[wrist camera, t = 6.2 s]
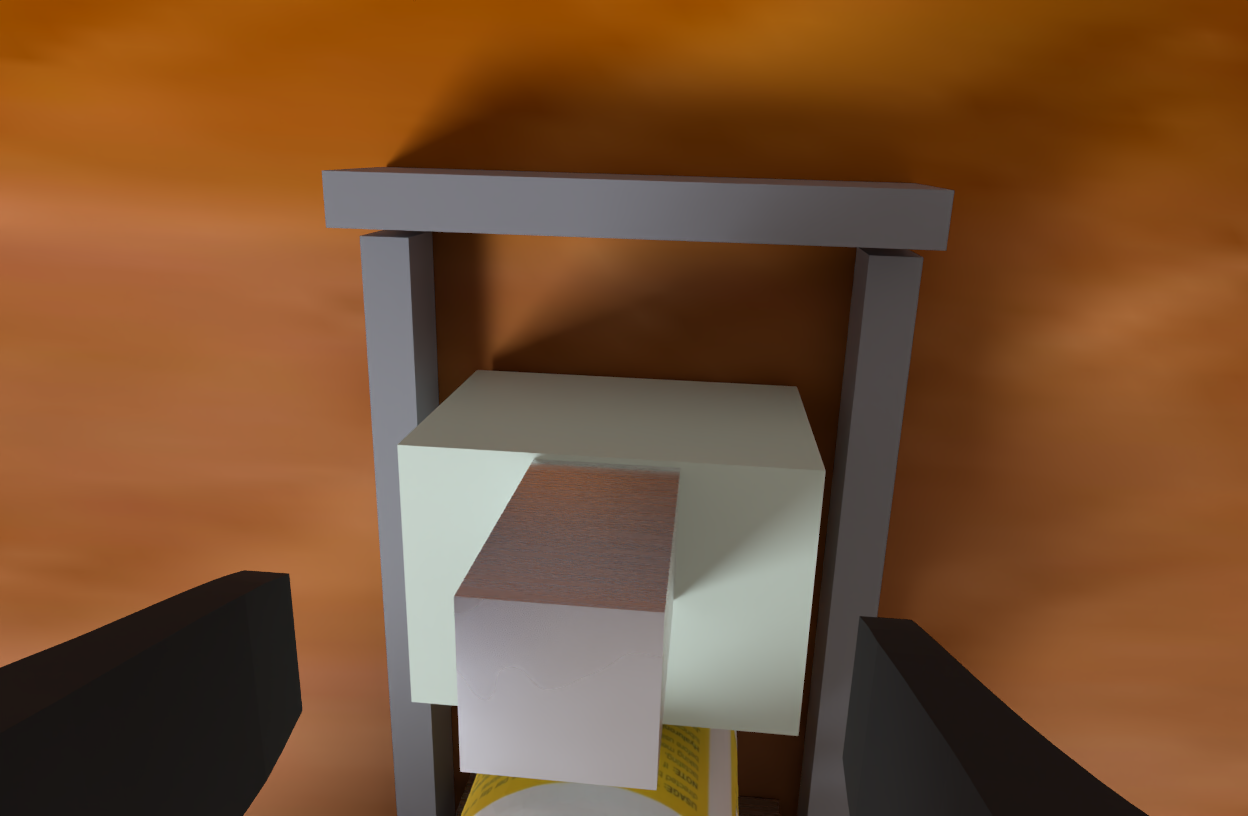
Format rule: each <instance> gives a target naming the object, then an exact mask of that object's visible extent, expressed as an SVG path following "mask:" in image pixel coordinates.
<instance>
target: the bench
mask: <svg viewBox="0 0 1248 816" xmlns="http://www.w3.org/2000/svg"><path fill="white" fill-rule="evenodd" d="M322 179H323V193H324V206H325V219H326V228H353V229H380V230H382V231H378V232H374V233H370V234H366V235H362V236H360V247H361V262H362V278H363V293H364V309H365V324H366V340H367V355H368V371H369V386H370V402H371V417H372V433H373V448H374V464H375V479H376V495H377V510H378V526H379V541H380V557H381V572H382V588H383V603H384V619H385V635H386V650H387V666H388V681H389V697H390V712H391V728H392V743H393V759H394V774H395V790H396V805H397V816H461V814H462V811H463V809H464V806H465V804H466V801H467V799H468V796H469V794H470V791H471V788H472V786H473V783H474V780H475V778H476V775H477V773H471V775H470V777H469V780H468V782H467V785H466V787H465V790H464V793H463V795H462V798H461V800H460V803H459V805H458V808H457V811H456V813H455V794H454V769H453V744H452V719H451V705H441V704H430V703H419V702H412V701H411V683H410V665H409V647H408V629H407V611H406V593H405V575H404V557H403V539H402V521H401V503H400V485H399V467H398V449H397V445H398V444H399V443H400V442H401V441H402V440H403V439H404V438H405V437H406V436H407V435H408V434H409V433H410V432H411V431H413V430H414V429H415V428H416V427H417V426H418V425H419V424H420V423H421V422H422V421H423V420H424V419H425V418H426V417H427V416H429V415H430V414H431V413H432V412H433V411H434V410H435V409H436V408H437V407H438V406H439V391H438V366H437V341H436V315H435V290H434V265H433V240H432V231H433V232H460V233H487V234H514V235H540V236H567V237H594V238H621V239H648V240H674V241H701V242H728V243H755V244H782V245H808V246H835V247H857V250H856V260H855V269H854V279H853V288H852V298H851V307H850V316H849V326H848V335H847V345H846V354H845V364H844V373H843V383H842V392H841V402H840V411H839V421H838V430H837V439H836V449H835V458H834V468H833V477H832V487H831V496H830V506H829V515H828V525H827V534H826V543H825V553H824V562H823V572H822V581H821V591H820V600H819V610H818V619H817V629H816V638H815V647H814V657H813V666H812V676H811V685H810V695H809V704H808V714H807V723H806V733H805V742H804V751H803V761H802V770H801V780H800V789H799V799H798V808H797V816H850V815H849V807H848V800H847V792H846V784H845V775H844V767H843V759H842V757H843V749H844V740H845V732H846V724H847V716H848V707H849V699H850V691H851V683H852V674H853V666H854V658H855V650H856V641H857V633H858V625H859V617H860V616H866V617H877V614H878V606H879V598H880V591H881V583H882V575H883V567H884V560H885V552H886V544H887V536H888V529H889V521H890V513H891V505H892V498H893V490H894V482H895V474H896V467H897V459H898V451H899V443H900V436H901V428H902V420H903V412H904V405H905V397H906V389H907V381H908V374H909V366H910V358H911V350H912V343H913V335H914V327H915V319H916V312H917V304H918V296H919V288H920V281H921V273H922V265H923V257H922V256H920V255H918V254H916V253H914V252H912V251H910V250H908V249H916V250H942V251H946V249H947V241H948V234H949V227H950V219H951V212H952V205H953V197H954V190H950V189H944V188H939V187H933V186H928V185H922V184H917V183H894V182H861V181H828V180H795V179H763V178H730V177H697V176H664V175H632V174H599V173H566V172H533V171H501V170H468V169H435V168H402V167H374V168H358V169H341V170H324V171H322ZM738 812H739V816H780V811H779V801H778V800H775V799H764V798H754V797H743V796H738Z"/></svg>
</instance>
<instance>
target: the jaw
mask: <svg viewBox="0 0 1248 816" xmlns="http://www.w3.org/2000/svg"><path fill="white" fill-rule="evenodd" d="M397 449H398V467H399V485H400V503H401V521H402V539H403V557H404V575H405V593H406V611H407V629H408V647H409V665H410V683H411V701H412V702H419V703H430V704H441V705H453V706H458V725H459V752H460V772H469V773H479V774H490V775H500V776H511V777H521V778H532V779H542V780H553V781H563V782H574V783H584V784H595V785H605V786H616V787H626V788H637V789H647V790H657V780H658V769H659V758H660V747H661V736H662V725H663V724H668V725H680V726H691V727H702V728H714V729H725V730H736V731H748V732H759V733H770V734H782V735H793V736H798V734H799V725H800V715H801V705H802V695H803V686H804V676H805V666H806V657H807V647H808V637H809V627H810V618H811V608H812V598H813V589H814V579H815V569H816V559H817V550H818V540H819V530H820V521H821V511H822V501H823V491H824V482H825V472H826V470H825V467H824V465H823V462H822V459H821V456H820V453H819V450H818V447H817V444H816V441H815V438H814V435H813V432H812V429H811V427H810V424H809V421H808V418H807V415H806V412H805V409H804V406H803V403H802V400H801V397H800V394H799V392H798V389H797V386H777V385H758V384H739V383H720V382H700V381H681V380H662V379H643V378H624V377H604V376H585V375H566V374H547V373H527V372H508V371H489V370H477V371H476V372H474V373H473V374H472V375H471V376H470V377H469V378H468V379H467V380H466V381H465V382H464V383H463V384H462V385H461V386H459V387H458V388H457V389H456V390H455V391H454V392H453V393H452V394H451V395H450V396H449V397H448V398H447V399H446V400H445V401H443V402H442V403H441V404H440V405H439V406H438V407H437V408H436V409H435V410H434V411H433V412H432V413H431V414H430V415H429V416H427V417H426V418H425V419H424V420H423V421H422V422H421V423H420V424H419V425H418V426H417V427H416V428H415V429H414V430H413V431H411V432H410V433H409V434H408V435H407V436H406V437H405V438H404V439H403V440H402V441H401V442H400V443H399V444H398V445H397Z"/></svg>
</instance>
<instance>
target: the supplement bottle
mask: <svg viewBox="0 0 1248 816" xmlns="http://www.w3.org/2000/svg"><path fill="white" fill-rule="evenodd" d="M737 765H738V760H737V731H736V730H725V729H714V728H702V727H691V726H680V725H668V724H663V725H662V736H661V747H660V758H659V769H658V780H657V790H647V789H637V788H626V787H616V786H605V785H595V784H584V783H574V782H563V781H553V780H542V779H532V778H521V777H511V776H500V775H490V774H479V773H477V775H476V778H475V780H474V783H473V786H472V788H471V791H470V794H469V796H468V799H467V801H466V804H465V806H464V809H463V811H462V814H461V816H739V812H738V772H737Z"/></svg>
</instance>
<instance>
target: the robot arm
mask: <svg viewBox="0 0 1248 816" xmlns="http://www.w3.org/2000/svg"><path fill="white" fill-rule="evenodd" d="M301 712H302V701H301V690H300V680H299V670H298V660H297V650H296V640H295V629H294V619H293V609H292V599H291V589H290V578H289V574H286V573H272V572H259V571H245V570H244V571H240V572H237V573H234V574H230V575H227V576H224V577H221V578H218V579H215V580H213V581H210V582H208V583H205V584H202V585H200V586H197V587H195V588H192V589H190V590H187V591H185V592H183V593H180V594H178V595H175V596H173V597H171V598H168V599H166V600H164V601H161V602H159V603H157V604H154V605H152V606H149V607H147V608H145V609H142V610H140V611H138V612H135V613H133V614H131V615H128V616H126V617H124V618H121V619H119V620H117V621H114V622H112V623H110V624H107V625H105V626H103V627H100V628H98V629H96V630H93V631H91V632H89V633H86V634H84V635H81V636H79V637H77V638H74V639H72V640H69V641H67V642H64V643H61V644H59V645H56V646H54V647H51V648H49V649H46V650H44V651H41V652H39V653H36V654H34V655H31V656H29V657H26V658H24V659H21V660H19V661H16V662H13V663H11V664H8V665H6V666H3V667H1V668H0V816H243V815H244V813H245V812H246V811H247V809H248V808H249V806H250V805H251V803H252V802H253V800H254V799H255V797H256V796H257V794H258V793H259V791H260V790H261V788H262V787H263V785H264V784H265V782H266V781H267V779H268V777H269V775H270V773H271V771H272V770H273V768H274V766H275V764H276V762H277V760H278V758H279V756H280V755H281V753H282V751H283V749H284V747H285V745H286V743H287V741H288V739H289V737H290V735H291V733H292V730H293V728H294V726H295V724H296V722H297V720H298V718H299V716H300V714H301ZM842 759H843V767H844V775H845V784H846V792H847V800H848V807H849V815H850V816H1149V815H1147V814H1146V813H1144V812H1143V811H1141V810H1140V809H1138V808H1137V807H1135V806H1134V805H1132V804H1131V803H1130V802H1128V801H1127V800H1125V799H1124V798H1123V797H1121V796H1120V795H1119V794H1117V793H1116V792H1114V791H1113V790H1112V789H1110V788H1109V787H1107V786H1106V785H1105V784H1103V783H1102V782H1101V781H1099V780H1098V779H1097V778H1095V777H1094V776H1093V775H1092V774H1090V773H1089V772H1088V771H1087V770H1085V769H1084V768H1083V767H1081V766H1080V765H1079V764H1078V763H1076V762H1075V761H1074V760H1072V759H1071V758H1070V757H1069V756H1067V755H1066V754H1065V753H1063V752H1062V751H1061V750H1060V749H1058V748H1057V747H1056V746H1055V745H1053V744H1052V743H1051V742H1050V741H1048V740H1047V739H1046V738H1045V737H1044V736H1042V735H1041V734H1040V733H1039V732H1037V731H1036V730H1035V729H1034V728H1033V727H1031V726H1030V725H1029V724H1028V723H1027V722H1025V721H1024V720H1023V719H1022V718H1021V717H1020V716H1018V715H1017V714H1016V713H1015V712H1014V711H1013V710H1011V709H1010V708H1009V707H1008V706H1007V705H1006V704H1005V703H1003V702H1002V701H1001V700H1000V699H999V698H998V697H997V696H996V695H994V694H993V693H992V692H991V691H990V690H989V689H988V688H987V687H985V686H984V685H983V684H982V683H981V682H980V681H979V680H978V679H977V678H975V677H974V676H973V675H972V674H971V673H970V672H969V671H968V670H967V669H966V668H965V667H963V666H962V665H961V664H960V663H959V662H958V661H957V660H956V659H955V658H954V657H953V656H952V655H950V654H949V653H948V652H947V651H946V650H945V649H944V648H943V647H942V646H941V645H940V644H939V643H937V642H936V641H935V640H934V639H933V638H932V637H931V636H930V635H929V634H928V633H926V632H925V631H924V630H923V629H922V628H921V627H919V626H918V625H917V624H916V623H915V622H913V621H912V620H907V619H893V618H880V617H866V616H860V617H859V625H858V633H857V641H856V650H855V658H854V666H853V674H852V683H851V691H850V699H849V707H848V716H847V724H846V732H845V740H844V749H843V757H842Z"/></svg>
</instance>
